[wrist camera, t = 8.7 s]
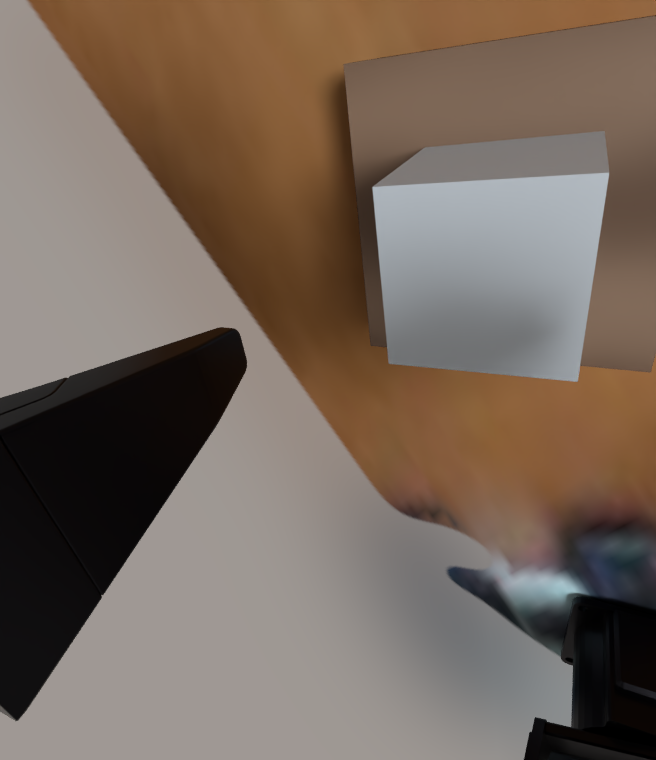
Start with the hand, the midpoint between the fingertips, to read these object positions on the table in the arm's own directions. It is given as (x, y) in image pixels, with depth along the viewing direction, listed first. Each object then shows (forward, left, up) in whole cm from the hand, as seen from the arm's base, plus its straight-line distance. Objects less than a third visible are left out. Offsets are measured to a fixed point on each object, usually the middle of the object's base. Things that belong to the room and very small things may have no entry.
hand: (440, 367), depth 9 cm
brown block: (0, 0, -12) cm, 12 cm away
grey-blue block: (0, 0, -9) cm, 9 cm away
